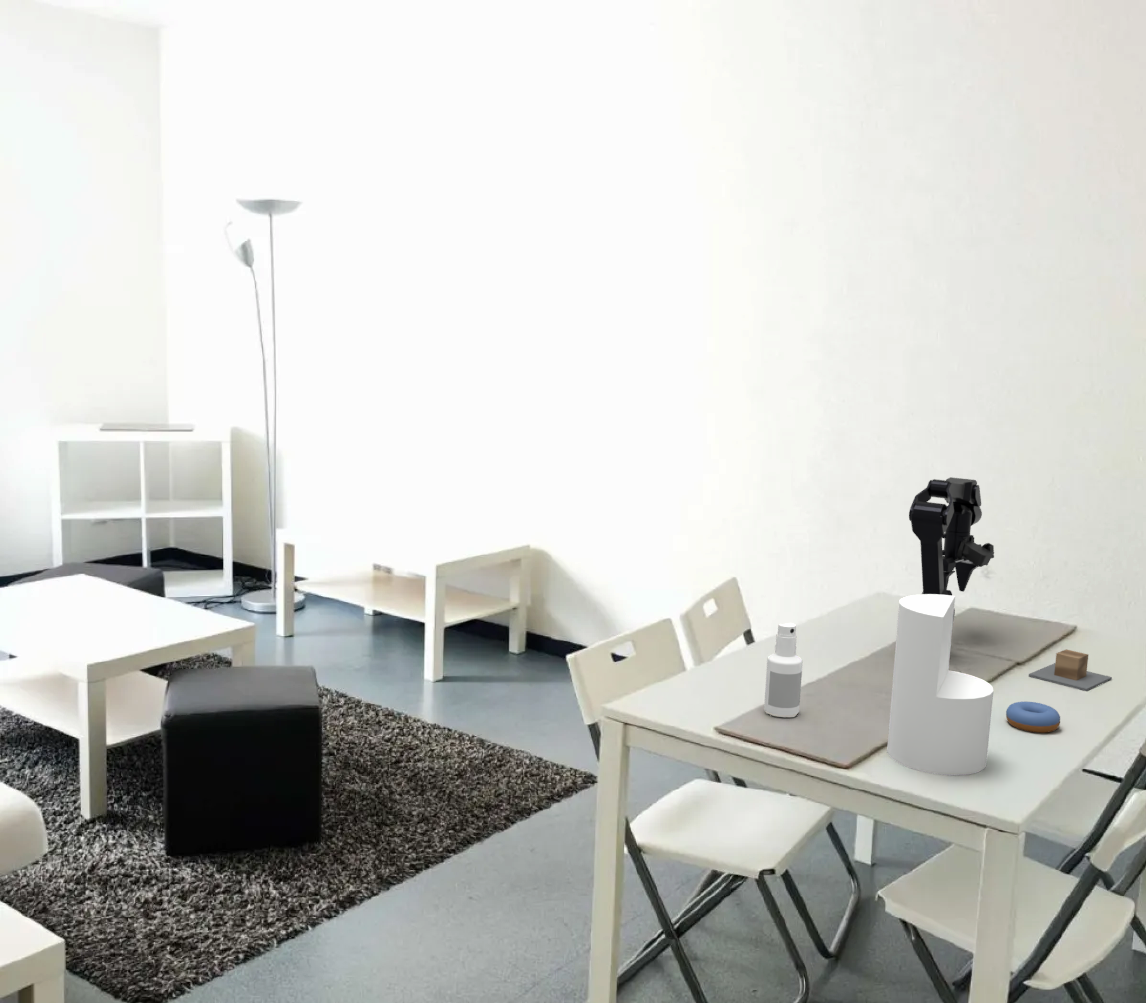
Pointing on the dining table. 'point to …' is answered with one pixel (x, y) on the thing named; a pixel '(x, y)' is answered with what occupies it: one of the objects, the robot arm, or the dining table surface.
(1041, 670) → the charcoal mat
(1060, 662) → the walnut cube
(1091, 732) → the dining table surface
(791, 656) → the spray bottle
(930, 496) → the robot arm
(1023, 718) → the doughnut
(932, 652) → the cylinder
